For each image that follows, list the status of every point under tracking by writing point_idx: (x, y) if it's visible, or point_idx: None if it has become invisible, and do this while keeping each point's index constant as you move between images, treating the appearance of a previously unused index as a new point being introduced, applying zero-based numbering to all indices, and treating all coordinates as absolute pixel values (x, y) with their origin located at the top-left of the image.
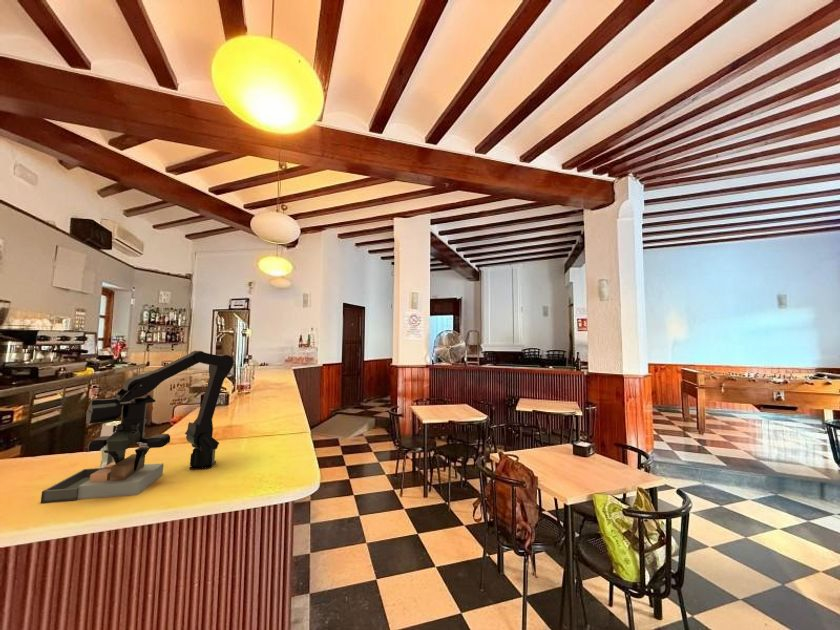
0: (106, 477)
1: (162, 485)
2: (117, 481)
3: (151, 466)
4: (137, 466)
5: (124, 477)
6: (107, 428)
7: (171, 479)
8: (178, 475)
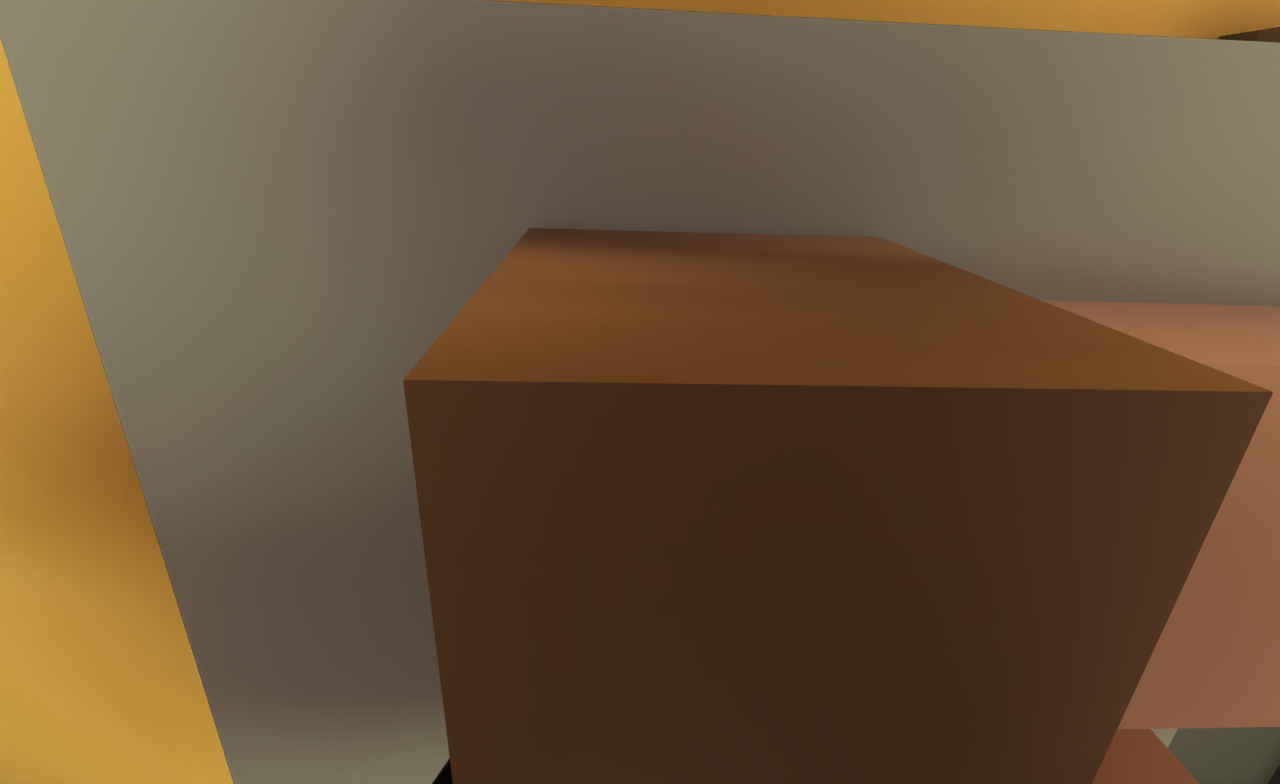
0: None
1: (57, 402)
2: (674, 182)
3: None
4: (446, 778)
5: (523, 242)
6: None
7: (96, 612)
8: (101, 728)
